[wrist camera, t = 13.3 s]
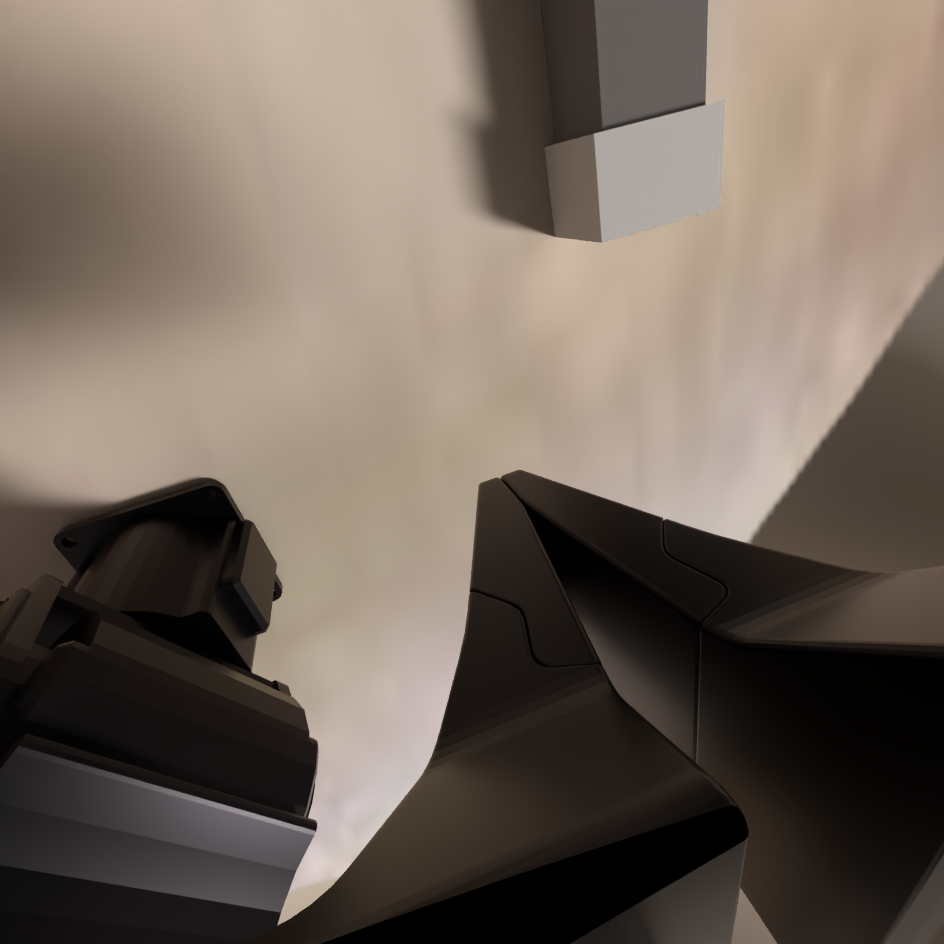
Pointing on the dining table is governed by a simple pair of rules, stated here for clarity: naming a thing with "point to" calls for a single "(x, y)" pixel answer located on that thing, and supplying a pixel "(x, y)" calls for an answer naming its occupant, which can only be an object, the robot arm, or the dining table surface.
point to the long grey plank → (629, 116)
